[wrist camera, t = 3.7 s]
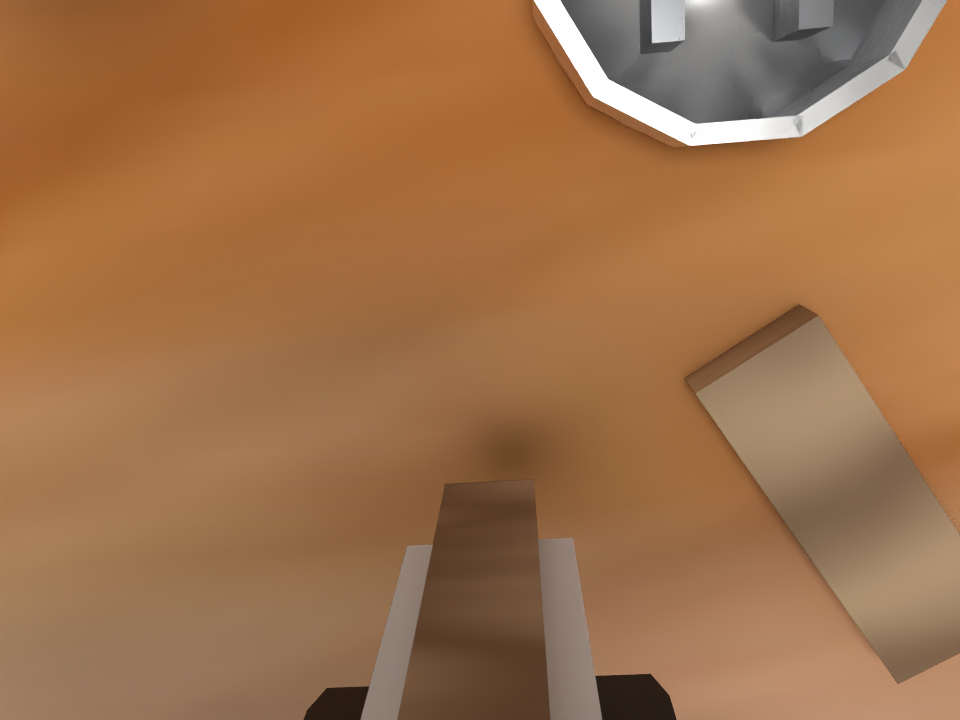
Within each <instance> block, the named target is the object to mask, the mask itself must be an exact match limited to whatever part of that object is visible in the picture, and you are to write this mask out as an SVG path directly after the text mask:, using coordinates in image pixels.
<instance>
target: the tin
mask: <svg viewBox="0 0 960 720" xmlns="http://www.w3.org/2000/svg"><path fill="white" fill-rule="evenodd" d="M946 1H947V0H532V6H533V19H534V21H535V22H536V24H537V26H538V27H539V29H540V30H541V32H542V34H543V35H544V37H545V39H546V40H547V42H548V44H549V46H550V48H551V50H552V51H553V53H554V55H555V57H556V59H557V61H558V63H559V64H560V66H561V67H562V69H563V70H564V71H565V73H566V74H567V76H568V77H569V78H570V80H571V81H572V83H573V84H574V85H575V87H576V89H577V90H578V92H579V93H580V95H581V97H582V98H583V100H584V102H585V103H586V104H587V105H589V106H591V107H593V108H595V109H597V110H599V111H601V112H603V113H604V114H606V115H608V116H610V117H611V118H613V119H615V120H616V121H618V122H620V123H621V124H623V125H625V126H626V127H629V128H631V129H634V130H636V131H638V132H641V133H643V134H645V135H648V136H650V137H652V138H654V139H656V140H658V141H660V142H662V143H664V144H666V145H668V146H670V147H683V146H693V145H705V144H718V143H730V142H742V141H755V140H767V139H769V140H770V139H782V138H794V137H802V136H803V135H805V134H807V133H808V132H810V131H811V130H813V129H814V128H816V127H817V126H819V125H820V124H822V123H823V122H825V121H827V120H828V119H830V118H831V117H833V116H834V115H836V114H837V113H839V112H840V111H842V110H844V109H845V108H847V107H848V106H850V105H851V104H853V103H854V102H856V101H857V100H859V99H860V98H862V97H864V96H865V95H867V94H868V93H870V92H871V91H873V90H874V89H876V88H877V87H879V86H880V85H882V84H884V83H885V82H887V81H888V80H890V79H891V78H893V77H894V76H896V75H897V74H899V73H900V72H902V71H904V70H905V69H906V67H907V65H908V64H909V62H910V61H911V59H912V57H913V56H914V54H915V52H916V51H917V49H918V47H919V46H920V44H921V42H922V41H923V39H924V37H925V36H926V34H927V32H928V31H929V29H930V28H931V26H932V24H933V23H934V21H935V19H936V18H937V16H938V14H939V13H940V11H941V9H942V8H943V6H944V4H945V3H946Z"/></svg>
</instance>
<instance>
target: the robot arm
mask: <svg viewBox="0 0 960 720" xmlns="http://www.w3.org/2000/svg"><path fill="white" fill-rule="evenodd" d="M538 546H539V561H540V576H541V590H542V605H543V619H544V634H545V648H546V663H547V678H548V692H549V707H550V720H676V716H675V713H674V709H673V706H672V703H671V699H670V696H669V695H668V693H667V692H666V691H665V690H664V689H663V688H662V687H661V685H660V684H659V683H658V682H657V681H656V680H655V679H654V677H653V676H652V675H651V674H638V675H611V676H595V672H594V665H593V659H592V653H591V647H590V640H589V634H588V628H587V622H586V615H585V609H584V603H583V597H582V590H581V584H580V578H579V572H578V565H577V559H576V553H575V547H574V541H573V538H553V539H538ZM432 547H433V544H431V545H410V546H407V549H406V552H405V556H404V560H403V564H402V567H401V571H400V575H399V578H398V582H397V586H396V590H395V593H394V597H393V601H392V604H391V608H390V612H389V616H388V619H387V623H386V627H385V630H384V634H383V638H382V642H381V645H380V649H379V653H378V656H377V660H376V664H375V668H374V671H373V675H372V679H371V683H370V686H369V687H342V688H327V689H326V690H325V691H324V692H323V693H322V694H321V695H320V696H319V698H318V699H317V700H316V701H315V702H314V703H313V704H312V705H311V707H310V708H309V709H308V710H307V712H306V715H305V717H304V720H397V718H398V713H399V709H400V704H401V699H402V694H403V689H404V684H405V679H406V674H407V669H408V664H409V660H410V655H411V650H412V645H413V640H414V635H415V630H416V625H417V620H418V615H419V611H420V606H421V601H422V596H423V591H424V586H425V581H426V576H427V571H428V566H429V562H430V557H431V552H432Z"/></svg>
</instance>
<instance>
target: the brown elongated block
mask: <svg viewBox="0 0 960 720" xmlns="http://www.w3.org/2000/svg"><path fill="white" fill-rule="evenodd" d="M397 720H550V707H549V692H548V678H547V663H546V648H545V634H544V619H543V605H542V590H541V576H540V561H539V546H538V532H537V517H536V503H535V488H534V479H529V480H510V481H492V482H473V483H454V484H445V488H444V493H443V498H442V503H441V508H440V513H439V517H438V522H437V527H436V532H435V537H434V542H433V547H432V552H431V557H430V562H429V566H428V571H427V576H426V581H425V586H424V591H423V596H422V601H421V606H420V611H419V615H418V620H417V625H416V630H415V635H414V640H413V645H412V650H411V655H410V660H409V664H408V669H407V674H406V679H405V684H404V689H403V694H402V699H401V704H400V709H399V713H398V718H397Z"/></svg>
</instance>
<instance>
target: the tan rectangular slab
mask: <svg viewBox="0 0 960 720" xmlns="http://www.w3.org/2000/svg"><path fill="white" fill-rule="evenodd" d="M685 379H686V381H687V382H688V384H689V385H690V387H691V388H692V390H693V391H694V393H695V394H696V395H697V397H698V398H699V400H700V401H701V403H702V404H703V405H704V407H705V408H706V410H707V411H708V413H709V414H710V415H711V417H712V418H713V420H714V421H715V423H716V424H717V425H718V427H719V428H720V430H721V431H722V433H723V434H724V436H725V437H726V438H727V440H728V441H729V443H730V444H731V446H732V447H733V448H734V450H735V451H736V453H737V454H738V456H739V457H740V458H741V460H742V461H743V463H744V464H745V466H746V467H747V468H748V470H749V471H750V473H751V474H752V476H753V477H754V479H755V480H756V481H757V483H758V484H759V486H760V487H761V489H762V490H763V491H764V493H765V494H766V496H767V497H768V499H769V500H770V501H771V503H772V504H773V506H774V507H775V509H776V510H777V511H778V513H779V514H780V516H781V517H782V519H783V520H784V521H785V523H786V524H787V526H788V527H789V529H790V530H791V532H792V533H793V534H794V536H795V537H796V539H797V540H798V542H799V543H800V544H801V546H802V547H803V549H804V550H805V552H806V553H807V554H808V556H809V557H810V559H811V560H812V562H813V563H814V564H815V566H816V567H817V569H818V570H819V572H820V573H821V575H822V576H823V577H824V579H825V580H826V582H827V583H828V585H829V586H830V587H831V589H832V590H833V592H834V593H835V595H836V596H837V597H838V599H839V600H840V602H841V603H842V605H843V606H844V607H845V609H846V610H847V612H848V613H849V615H850V616H851V617H852V619H853V620H854V622H855V623H856V625H857V626H858V628H859V629H860V630H861V632H862V633H863V635H864V636H865V638H866V639H867V640H868V642H869V643H870V645H871V646H872V648H873V649H874V650H875V652H876V653H877V655H878V656H879V658H880V659H881V660H882V662H883V663H884V665H885V666H886V668H887V669H888V671H889V672H890V673H891V675H892V676H893V678H894V679H895V681H896V682H897V683H898V684H899V683H901V682H903V681H905V680H907V679H909V678H911V677H913V676H915V675H917V674H919V673H921V672H923V671H925V670H927V669H929V668H931V667H933V666H935V665H937V664H939V663H941V662H943V661H945V660H947V659H949V658H951V657H953V656H955V655H957V654H959V653H960V534H959V532H958V531H957V529H956V528H955V526H954V525H953V523H952V522H951V520H950V518H949V517H948V515H947V514H946V512H945V511H944V509H943V508H942V506H941V504H940V503H939V501H938V500H937V498H936V497H935V495H934V494H933V492H932V491H931V489H930V487H929V486H928V484H927V483H926V481H925V480H924V478H923V477H922V475H921V473H920V472H919V470H918V469H917V467H916V466H915V464H914V463H913V461H912V459H911V458H910V456H909V455H908V453H907V452H906V450H905V449H904V447H903V445H902V444H901V442H900V441H899V439H898V438H897V436H896V435H895V433H894V432H893V430H892V428H891V427H890V425H889V424H888V422H887V421H886V419H885V418H884V416H883V414H882V413H881V411H880V410H879V408H878V407H877V405H876V404H875V402H874V400H873V399H872V397H871V396H870V394H869V393H868V391H867V390H866V388H865V386H864V385H863V383H862V382H861V380H860V379H859V377H858V376H857V374H856V372H855V371H854V369H853V368H852V366H851V365H850V363H849V362H848V360H847V359H846V357H845V355H844V354H843V352H842V351H841V349H840V348H839V346H838V345H837V343H836V341H835V340H834V338H833V337H832V335H831V334H830V332H829V331H828V329H827V327H826V326H825V324H824V323H823V321H822V320H821V318H820V317H819V315H817V314H815V313H814V312H812V311H810V310H808V309H806V308H804V307H803V306H801V305H797V306H796V307H794V308H793V309H791V310H790V311H788V312H787V313H785V314H783V315H782V316H780V317H779V318H777V319H776V320H774V321H773V322H771V323H769V324H768V325H766V326H765V327H763V328H762V329H760V330H759V331H757V332H755V333H754V334H752V335H751V336H749V337H748V338H746V339H745V340H743V341H741V342H740V343H738V344H737V345H735V346H734V347H732V348H731V349H729V350H728V351H726V352H724V353H723V354H721V355H720V356H718V357H717V358H715V359H714V360H712V361H710V362H709V363H707V364H706V365H704V366H703V367H701V368H700V369H698V370H696V371H695V372H693V373H692V374H690V375H689V376H687V377H686V378H685Z"/></svg>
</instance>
